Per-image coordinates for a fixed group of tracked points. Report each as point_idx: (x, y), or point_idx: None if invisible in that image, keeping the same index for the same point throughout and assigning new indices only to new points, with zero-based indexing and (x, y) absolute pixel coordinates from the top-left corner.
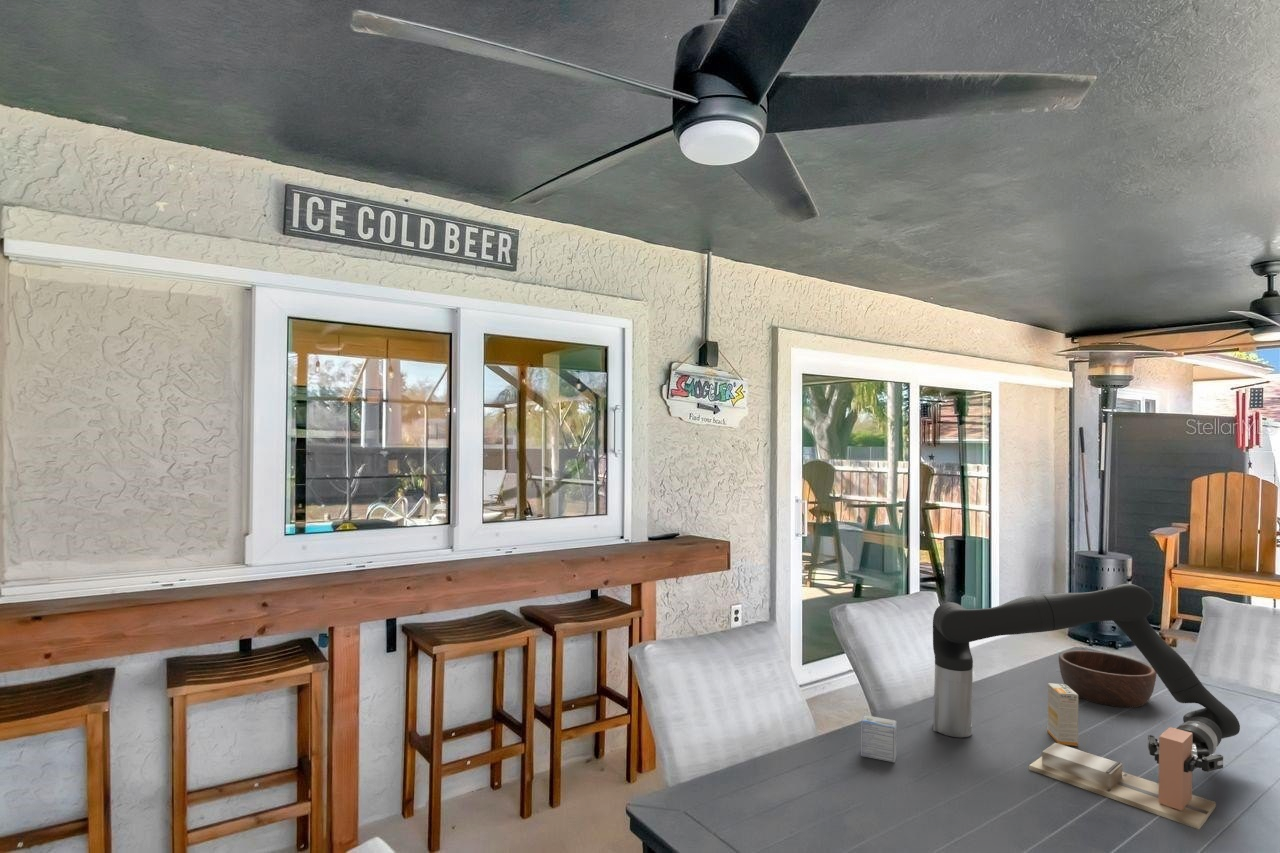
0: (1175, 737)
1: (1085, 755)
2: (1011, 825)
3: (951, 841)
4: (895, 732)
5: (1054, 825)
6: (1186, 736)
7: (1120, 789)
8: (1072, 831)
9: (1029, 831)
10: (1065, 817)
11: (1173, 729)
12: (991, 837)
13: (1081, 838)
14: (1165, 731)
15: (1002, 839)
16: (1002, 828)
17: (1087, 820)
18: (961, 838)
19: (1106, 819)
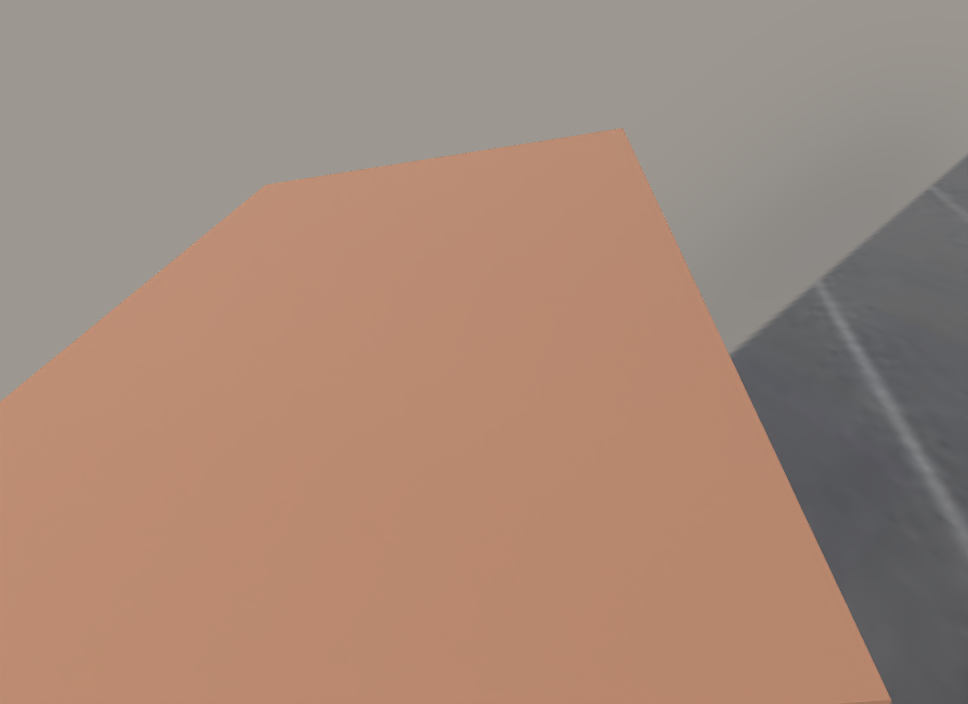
0: (379, 213)
1: None
2: (956, 278)
3: (934, 188)
4: None
5: (889, 352)
6: (109, 346)
7: None
8: (815, 367)
9: (891, 292)
10: (933, 411)
11: (528, 478)
12: (909, 231)
13: (758, 359)
14: (659, 245)
15: (884, 241)
16: (947, 260)
17: (860, 455)
18: (938, 200)
19: (820, 524)
